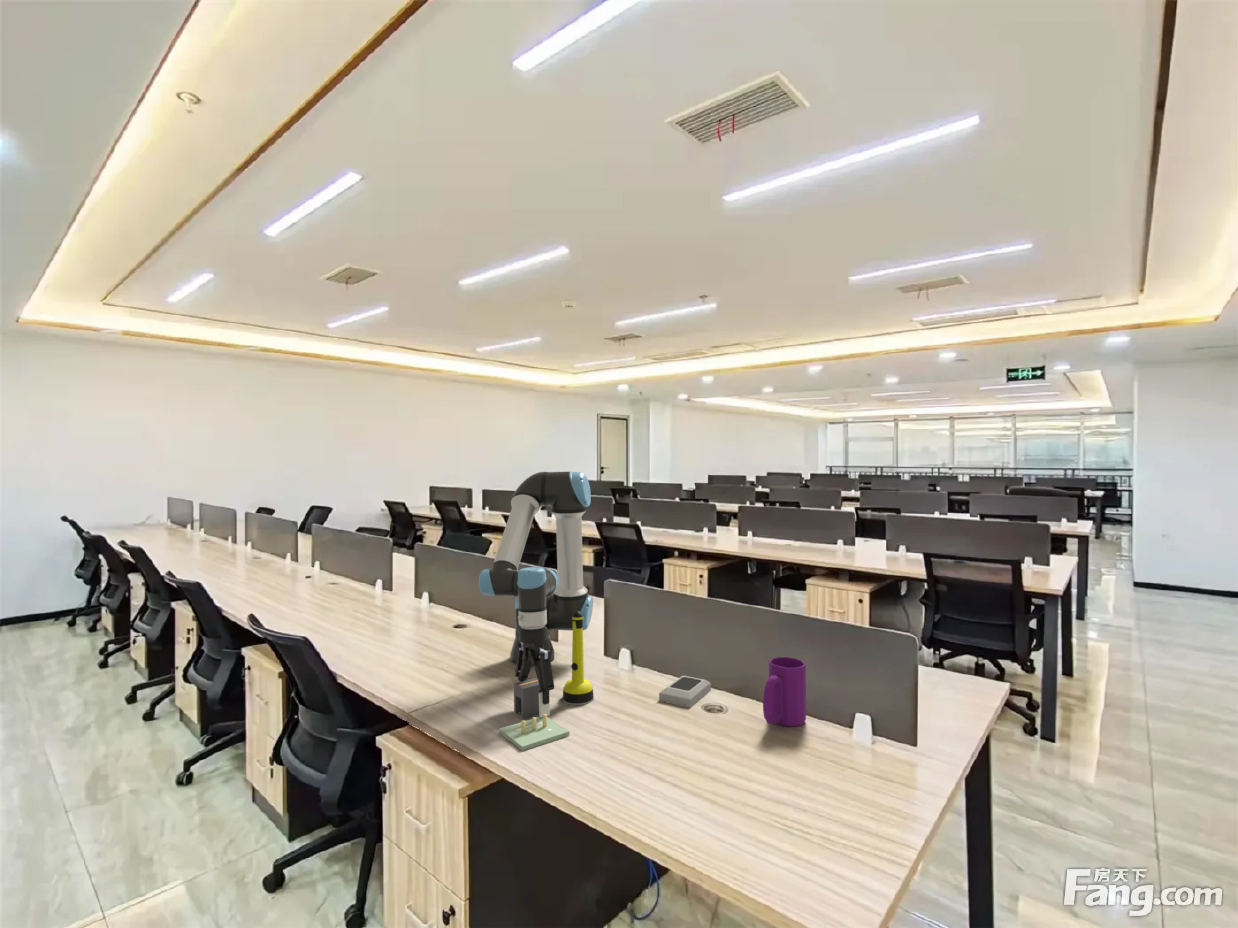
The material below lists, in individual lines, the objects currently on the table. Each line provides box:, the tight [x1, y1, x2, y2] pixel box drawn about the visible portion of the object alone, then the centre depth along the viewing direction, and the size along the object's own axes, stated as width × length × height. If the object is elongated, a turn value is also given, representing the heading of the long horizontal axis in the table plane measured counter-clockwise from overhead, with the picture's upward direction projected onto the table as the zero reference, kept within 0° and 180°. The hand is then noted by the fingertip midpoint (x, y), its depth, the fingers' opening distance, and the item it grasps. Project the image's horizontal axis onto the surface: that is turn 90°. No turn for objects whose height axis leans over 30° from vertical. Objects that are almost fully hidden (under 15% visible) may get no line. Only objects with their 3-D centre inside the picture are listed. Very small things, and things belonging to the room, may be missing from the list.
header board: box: [499, 714, 570, 752], centre depth 147 cm, size 13×12×4 cm
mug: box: [762, 656, 807, 727], centre depth 152 cm, size 9×16×15 cm, turn 136°
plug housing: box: [513, 677, 540, 720], centre depth 160 cm, size 8×5×8 cm, turn 128°
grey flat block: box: [658, 675, 712, 709], centre depth 171 cm, size 10×4×15 cm
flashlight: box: [561, 611, 595, 706], centre depth 169 cm, size 25×9×9 cm
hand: (534, 710), depth 159 cm, fingers open, 10 cm apart
